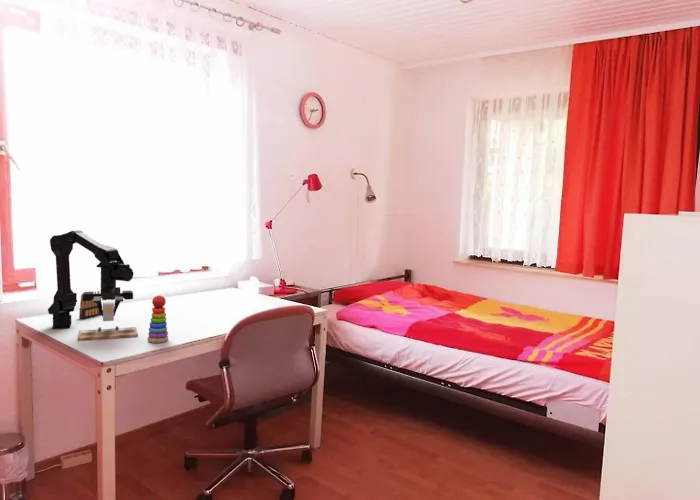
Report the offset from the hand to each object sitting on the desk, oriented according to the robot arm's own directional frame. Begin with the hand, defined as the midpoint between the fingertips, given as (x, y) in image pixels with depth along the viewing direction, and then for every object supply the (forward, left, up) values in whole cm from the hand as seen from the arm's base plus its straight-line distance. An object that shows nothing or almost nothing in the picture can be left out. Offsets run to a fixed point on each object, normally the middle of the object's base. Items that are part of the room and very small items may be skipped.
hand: (108, 316), depth 213 cm
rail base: (0, 0, -8) cm, 8 cm away
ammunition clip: (-7, +33, -8) cm, 35 cm away
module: (0, 0, -1) cm, 1 cm away
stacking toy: (+18, -14, -8) cm, 24 cm away
